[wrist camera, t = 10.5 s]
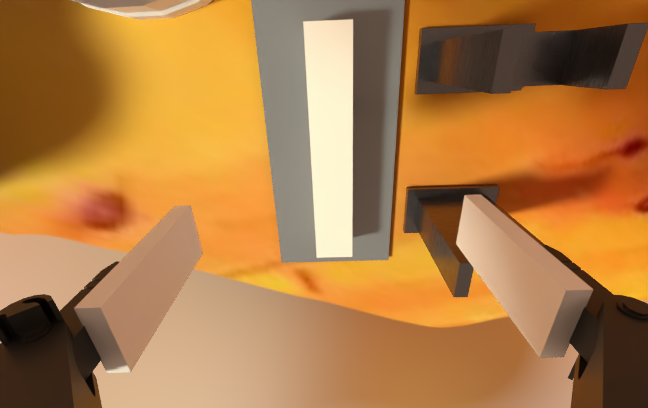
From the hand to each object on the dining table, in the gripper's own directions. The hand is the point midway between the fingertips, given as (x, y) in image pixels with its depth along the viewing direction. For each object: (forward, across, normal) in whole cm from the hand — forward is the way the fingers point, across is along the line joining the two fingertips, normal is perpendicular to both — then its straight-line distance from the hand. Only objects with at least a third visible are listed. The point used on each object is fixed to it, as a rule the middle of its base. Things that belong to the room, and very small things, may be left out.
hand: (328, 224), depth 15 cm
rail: (+15, +1, 0) cm, 15 cm away
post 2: (+15, +13, -7) cm, 21 cm away
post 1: (+16, +13, +7) cm, 21 cm away
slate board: (+16, +1, 0) cm, 16 cm away
